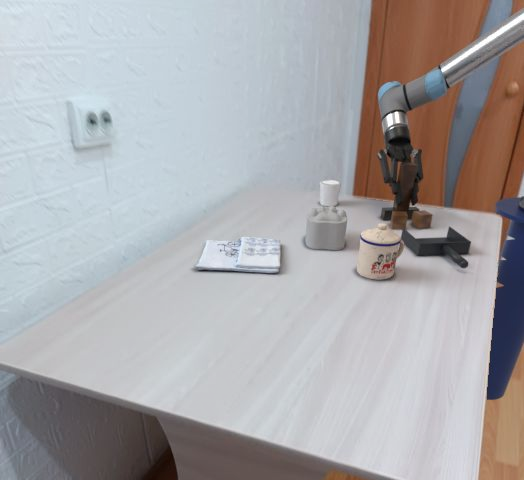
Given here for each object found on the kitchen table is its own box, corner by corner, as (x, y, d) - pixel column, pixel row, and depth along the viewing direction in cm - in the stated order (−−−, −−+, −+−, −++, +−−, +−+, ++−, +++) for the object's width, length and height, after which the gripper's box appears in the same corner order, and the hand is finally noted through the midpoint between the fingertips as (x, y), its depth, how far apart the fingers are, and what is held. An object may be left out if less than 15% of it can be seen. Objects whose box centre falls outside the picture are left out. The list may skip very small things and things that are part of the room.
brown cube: (403, 225, 142) (406, 211, 140) (405, 229, 139) (408, 215, 137) (390, 224, 142) (392, 210, 140) (391, 228, 139) (393, 215, 137)
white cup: (325, 207, 155) (327, 185, 151) (314, 202, 160) (315, 180, 156) (343, 205, 157) (345, 183, 153) (331, 199, 162) (333, 178, 158)
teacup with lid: (371, 283, 108) (379, 233, 102) (347, 268, 115) (353, 220, 108) (412, 274, 113) (422, 225, 106) (386, 260, 119) (394, 214, 113)
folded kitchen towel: (279, 274, 111) (280, 266, 110) (193, 271, 112) (192, 262, 110) (281, 244, 127) (281, 236, 126) (205, 241, 128) (205, 233, 126)
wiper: (414, 216, 149) (424, 162, 140) (417, 219, 147) (428, 164, 138) (380, 217, 148) (389, 162, 139) (383, 220, 145) (392, 165, 136)
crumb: (422, 223, 144) (424, 210, 141) (429, 227, 141) (432, 214, 138) (410, 224, 143) (413, 211, 140) (418, 228, 139) (421, 215, 137)
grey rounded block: (305, 248, 125) (308, 216, 120) (304, 231, 136) (307, 200, 131) (345, 250, 124) (349, 217, 120) (341, 233, 135) (345, 202, 130)
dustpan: (400, 240, 132) (402, 228, 130) (447, 238, 133) (450, 226, 132) (436, 274, 113) (440, 261, 111) (490, 271, 115) (494, 258, 113)
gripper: (417, 140, 150) (428, 209, 146) (365, 140, 148) (375, 210, 143) (428, 124, 143) (440, 196, 138) (373, 124, 141) (384, 197, 136)
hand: (407, 203), depth 141 cm, fingers closed on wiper, 4 cm apart
